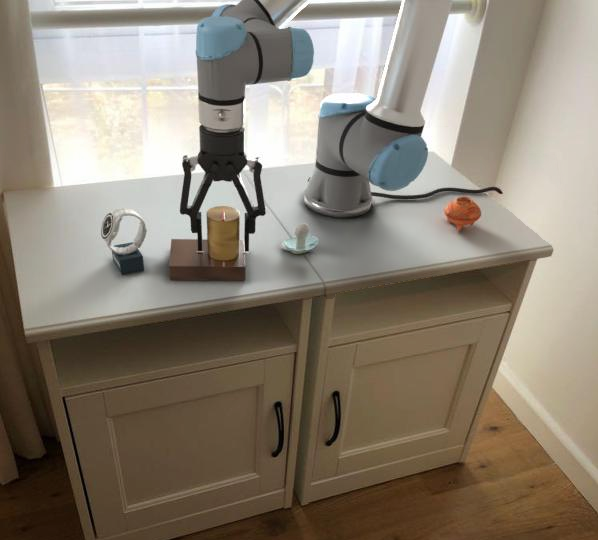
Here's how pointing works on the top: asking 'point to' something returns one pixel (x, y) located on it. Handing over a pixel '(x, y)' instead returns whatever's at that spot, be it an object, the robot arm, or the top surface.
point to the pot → (462, 212)
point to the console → (203, 262)
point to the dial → (223, 232)
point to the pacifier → (300, 241)
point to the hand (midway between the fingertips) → (223, 247)
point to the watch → (127, 253)
